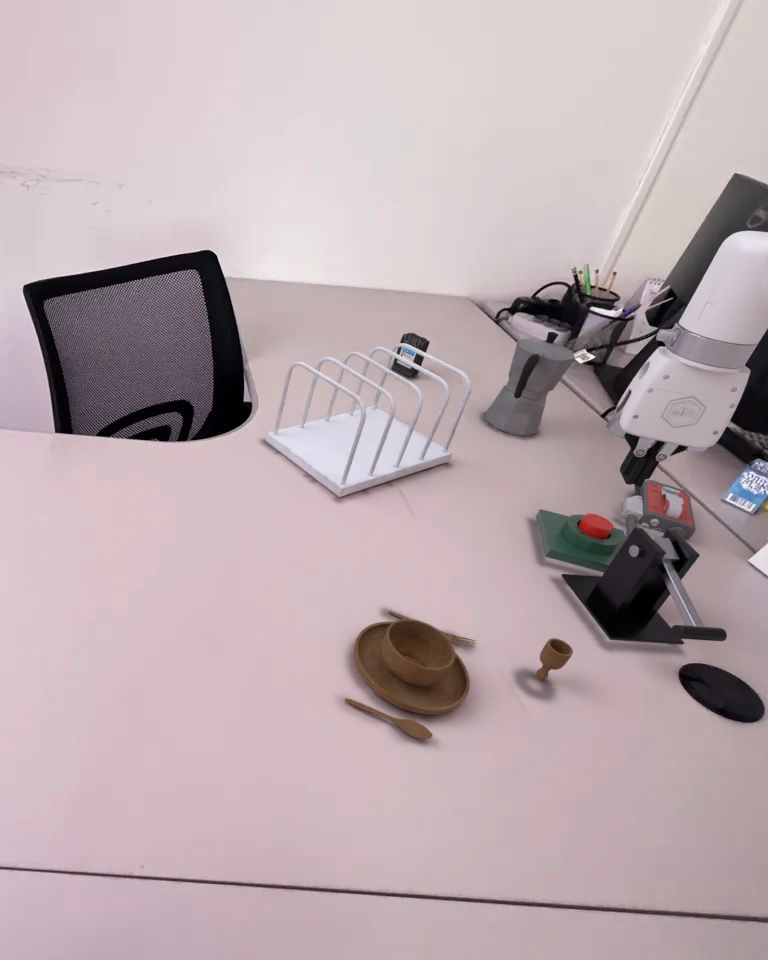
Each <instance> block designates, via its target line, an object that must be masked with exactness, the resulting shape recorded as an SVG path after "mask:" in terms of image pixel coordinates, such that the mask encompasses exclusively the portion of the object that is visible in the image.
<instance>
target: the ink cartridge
mask: <svg viewBox="0 0 768 960" xmlns="http://www.w3.org/2000/svg"><path fill="white" fill-rule="evenodd" d="M400 343H406V344H408V345H411V346H413V347H415V348H417V349H419V350H421V351H423V352H425V353H427V351H428V348H429V345H430V343H431V341H430V340H428V339H427V338H426V337H423V336H420V335H418V334H417V333H415V332H407V333H403V335H402V336H401V338H400V341H399V344H400ZM395 353H396V354H398V355H400V356H402V357H404V358H406V359H408V360H409V361H411V362H413V363H415V364H417V365H419V366H421V367H422V364H423V362H424V359H425V357H423V356H421V355H419V354H417V353H415V352H413V351H411V350H409V349H407V348H405V347H399V348H397V349H396V352H395ZM391 369H392V370H393V371H394V372H397V374H399V375H400V374H401V376H402V375H403V376H404V377H406V378H409V379H410V378H413V377H416V376H419V373H420V371H418V370H416V369H415V368H413V367H411V366H409V365H407V364H406V363H404V362H402V361H400V360H398V359H396V358H395V357H394V360H393V362H392V365H391Z"/></svg>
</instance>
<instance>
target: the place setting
mask: <svg viewBox="0 0 768 960" xmlns="http://www.w3.org/2000/svg"><path fill="white" fill-rule="evenodd" d="M388 614H390V615H392V616H395V617H397V618H399V619H397V620H394V621H389V620H388V621H379V622H375V623H371V624H369V625H367V626H366V627H364V628H363V629H362V630H361V631H360V632H359V633H358V634H357V637H356V639H355V642H354V646H353V659H354V663H355V665H356V668H357V671H358V673H359V674H360V676H361V677H362V679H363V681H364V682H365V683H366V684H367V686H369V688H371V690H373V691H374V692H375V693H376V695H378V696H380V697H381V698H382V699H383V700H385V701H387V702H388V703H390V704H392V705H394V706H396V707H398V708H400V709H402V710H406V711H408V712H412V713H416V714H420V715H421V714H422V715H439V714H440V715H441V714H445V713H448V712H451V711H452V710H454V709H456V708H458V707H459V706H460V705H461V704H462V703H463V702H464V701H465V699H466V698H467V696H468V695H469V691H470V687H471V681H470V675H469V672H468V670H467V667H466V665H465V664H464V662H463V660H462V658H461V657H460V656H459V655H458V653H456V651H455V648H454V645H453V644H456V645H460V646H465V647H470V648H475V644H476V642H477V640H475V639H471V638H467V637H463V636H460V635H459V636H458V635H456V634H455V635H454V634H451V633H447V632H445V631H443V630H440V629H438V628H436V627H435V626H433V625H432V624H429V623H426V622H424V621H421V620H419V619H418V620H417V619H413V618H410V617H407V616H405V615H402V614H399V613H397V612H394V611H391V610H389V611H388ZM573 654H574V650H573V648H572V647H571V645H570V644H568V643H567V642H566V641H565V640H563V639H560V638H555V637H551V638H549V639H548V640H547V641H546V643H545V644H544V646H543V648H542V649H541V652H540V653H539V660H540V662H541V664H542V666H541V667H540V668H538V669H537V670H536V676H535V678H536V680H538V681H540V682H543V680H545V679H547V678H548V677H549V672H551V670H552V671H558V670H560V669H562V668H563V667H564V666H565V665H566V664H567V663H568V662H569V660H570V659H571V657H572V656H573ZM344 701H345V702H346V703H348V704H350V705H352V706H354V707H357V708H359V709H361V710H363V711H365V712H369V713H371V714H373V715H376V716H379V717H381V718H384V719H385V720H388V721H390V722H392V723H394V724H395V725H397V726H398V727H399V729H401V731H403V732H404V733H405V734H407V735H409V736H410V737H412V738H413V737H414V738H416V739H421V740H429V739H431V738H432V737H433V734H432V731H430V730H429V728H427V727H426V726H425V725H423V724H422V723H420V722H418V721H416V720H414V719H413V720H412V719H407V718H398V717H395V716H391V715H390V714H387V713H384V712H383V711H380V710H378V709H375V708H373V707H371V706H369V705H367V704H364V703H362V702H359V701H356V700H354V699H350V698H348V697H346V698H344Z"/></svg>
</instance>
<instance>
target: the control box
mask: <svg viewBox="0 0 768 960" xmlns="http://www.w3.org/2000/svg"><path fill="white" fill-rule="evenodd" d="M584 515H585V514H572V515H570V516H569V515H565V514H561V513H557V512H554V511H551V510H550V511H549V510H546V509H542V508H539V510H538V511H537V513H536V515H535V519H536V523H537V526H538V531H539V535H540V539H541V543H542V547H543V551H544V555H545V558H549V559H553V560H556V561H560V562H564V563H567V564H571V565H574V566H578V567H582V568H585V569H589V570H592V571H593V570H594V571H597V572H601V573H604V572H605V571H606V569H607V568H608V566H609V565H610V563H611V562H612V560H613V559H614V557H615V556H616V554H617V553H618V551H619V550H620V548H621V547H622V545H623V544H624V542H625V541H626V539H627V538H628V537H627V536H626V534H625V531H624V530H623V529H620V528H616V527H614V528H613V530H612V531H611V533H610V534H609V536H608V537H607V538H606V539H598V538H594V537H591V536H589V535H587V534H585V533H584V532H583V531H582V530H580V529H579V528H578V525H579V523H580V522H581V520H582V519H583V517H584Z"/></svg>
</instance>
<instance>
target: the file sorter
mask: <svg viewBox="0 0 768 960" xmlns="http://www.w3.org/2000/svg"><path fill="white" fill-rule="evenodd" d="M399 347H405V348H407V349H409V350H411V351H413V352H415V353H417V354H419V355H421V356H423V357H424V359H427V360H429V361H431V362H433V363H435V364H437V365H439V366H441V367H443V368H445V369H447V370H449V371H451V372H453V373H455V374H456V375H459V376H460V377H461V378H462V379H463V381H464V383H465V385H466V386H465V387H466V389H465V393H464V396H463V399H462V401H461V404H460V407H459V408H458V411H457V414H456V415H455V418H454V421H453V424H452V426H451V429H450V432H449V434H448V436H447V439H446V441H445V443H444V447H443V446H442V445H440V444H439V443H438V442H435V441H433V438H434V437H435V433H436V431H437V429H438V427H439V425H440V422H441V420H442V418H443V416H444V413H445V411H446V409H447V407H448V404H449V401H450V399H451V398H450V397H451V391H450V390H451V389H450V387H449V385H448V383H447V382H446V380H445V379H444V378H442V377H441V376H439V375H437V374H435V373H433V372H432V371H430V370H428V369H426V368H424V367H422V365H421V366H419V365H417V364H415V363H413V362H411V361H409V360H408V359H406V358H404V357H402V356H400V355H398V354H396V353H397V352H396V351H397V350H398V348H399ZM368 352H369V353H368V354H367V355H365V354H364V353H362V352H359V351H351V352H349V353H347V354H346V355H345V356H344V358H343V360H342V362H341V361H340V360H338V359H337V358H334V357H332V356H325V357H323V358H321V359H320V360H319V361H318V363H317V364H316V367H315V368H314V367H312V366H311V365H309V364H308V363H306V362H303V361H295V362H292V363H291V364H290V365H289V367H288V368H287V372H286V375H285V380H284V385H283V389H282V394H281V397H280V401H279V405H278V411H277V416H276V420H275V424H274V430H272V431H271V430H270V431H268V432H267V435H266V438H265V442H266V443H268V444H269V445H271V446H272V447H273V448H274V449H276V450H277V451H279V452H280V453H281V454H283V455H284V456H285V457H286V458H287V459H289V460H290V461H292V462H293V463H294V464H296V465H297V466H298V467H299V468H301V469H302V470H303V471H304V472H306V473H307V474H308V475H310V476H311V477H312V478H314V479H315V480H316V481H318V482H319V483H320V484H322V485H323V486H324V487H326V488H327V489H328V490H330V491H331V492H332V493H333V494H335V495H336V496H337V497H340V498H341V497H344V496H347V495H350V494H353V493H356V492H359V491H362V490H365V489H366V490H367V489H368V488H372V487H375V486H377V485H381V484H383V483H386V482H390V481H393V480H396V479H399V478H402V477H405V476H408V475H412V474H414V473H417V472H420V471H424V470H425V469H430V468H433V467H436V466H439V465H442V464H445V463H448V462H450V461H451V458H452V455H453V453H452V451H450V450H449V448H450V445H451V442H452V440H453V438H454V435H455V433H456V431H457V429H458V425H459V423H460V420H461V418H462V415H463V413H464V410H465V408H466V405H467V403H468V400H469V397H470V395H471V392H472V383H471V379H470V377H469V376H468V375H467V374H466V373H465V372H464V371H463V370H461V369H459V368H457V367H455V366H453V365H451V364H449V363H447V362H445V361H443V360H441V359H439V358H437V357H435V356H432V355H430V354H429V353H427V352H426V353H425V352H423V351H421V350H419V349H417V348H415V347H413V346H411V345H408V344H406V343H400V342H399V343H397V344H395V345H394V346H393V347H392V348H391V349H389V348H387V347H384V346H376V347H374V348H372V349H371V350H370V351H368ZM377 352H383V353H385V354H387V355H388V357H387V360H386V363H385V366H384V365H383V364H381V363H379V362H378V361H376V360H374V359H372V358H373V355H374V354H375V353H377ZM353 356H354V357H358V358H360V359H362V360H363V361H364V364H363V368H362V371H361V373H359V372H358V371H356V370H354V369H352V368H351V367H350V366H348V365H347V363H348V360H349V359H350V358H352V357H353ZM393 358H394V359H395V358H396V359H398V360H400V361H402V362H404V363H406V364H407V365H409V366H411V367H413V368H415V369H416V370H418V371H419V373H422V374H424V375H426V376H428V377H429V378H431V379H433V380H435V381H436V382H438V383H439V384H440V385H441V386H442V387H443V389H444V399H443V402H442V405H441V407H440V408H439V412H438V413H437V416H436V418H435V421H434V422H433V426H432V428H431V430H430V432H429V434H428V437H427V436H426V435H424V434H422V433H421V432H419V431H417V430H416V429H415V427H416V424H417V422H418V419H419V417H420V415H421V413H422V409H423V405H424V397H423V394H422V391H421V389H420V388H419V387H418V386H417V385H416V384H415V383H414V382H411V381H410V380H408V379H406V378H405V377H403V376H402V375H400V374H399V373H396V371H394V370H393V371H392V370H391V369H389V368H390V365H391V362H392V359H393ZM325 362H331V363H333V364H334V365H336V366H337V367H338V368H339V372H338V375H337V378H336V380H334V379H333V378H330V377H329V376H328V375H326V374H324V373H322V372H321V368H322V365H323V364H324V363H325ZM370 365H372V366H373V367H375V368H377V369H379V370H380V371H382V376H381V379H380V381H379V384H377V383H376V382H374V381H372V380H371V379H369V378H367V377H366V374H367V371H368V369H369V366H370ZM296 367H302V368H303V369H305V370H307V371H308V372H310V373H312V374H313V377H312V381H311V384H310V388H309V392H308V394H307V395H308V396H307V399H306V403H305V407H304V410H303V413H302V417H301V421H300V423H299V424H296V425H292V426H288V427H284V428H280V425H281V421H282V416H283V412H284V407H285V403H286V398H287V395H288V390H289V386H290V381H291V377H292V373H293V370H294V369H295V368H296ZM345 372H346V373H348V374H351V375H352V376H354V377H355V378H357V379H359V381H358V384H357V388H356V391H355V392H354V391H352V390H350V389H348V388H347V387H345V386H344V385H342V384H341V383H342V378H343V375H344V373H345ZM387 375H389V376H391V377H392V378H394V379H395V380H397V381H399V382H401V383H402V384H404V385H405V386H407V387H409V389H412V390H413V391H414V393H415V394H416V397H417V406H416V409H415V411H414V415H413V417H412V420H411V423H410V425H409V426H408V425H407V424H406V423H404V422H402V421H401V420H399V419H398V418H396V417H395V414H396V402H395V399H394V397H393V396H392V394H391V393H390V392H389V390H387V389H385V387H384V384H385V381H386V378H387ZM319 378H320V379H321V380H323V381H324V382H326V383H328V384H329V385H331V386H333V387H334V388H333V392H332V396H331V398H330V402H329V406H328V408H327V412H326V416H325V417H324V418H319V419H316V420H311V421H308V422H306V421H307V417H308V413H309V411H310V407H311V403H312V399H313V396H314V393H315V389H316V385H317V381H318V379H319ZM363 384H367V385H368V386H369V387H371V388H373V389H375V391H376V394H375V397H374V401H373V404H372V405H371V406H367V407H366V405H365V402H364V400H363V399H362V398H361V397H360V393H361V390H362V387H363ZM383 387H384V388H383ZM338 391H341V392H343V393H344V394H346V395H347V396H349V397H351V398H352V403H351V407H350V410H349V411H348V412H343V413H340V414H336V415H332V411H333V408H334V405H335V403H336V402H335V401H336V398H337V394H338ZM381 394H382V395H384V396H385V397H386V398H387V400H388V402H389V405H390V412H389V413H388V412H386V411H385V410H383V409H380V408H379V407H377V406H378V403H379V400H380V396H381ZM357 404H358V405H359V409H355V408H356V405H357ZM279 428H280V429H279Z"/></svg>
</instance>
